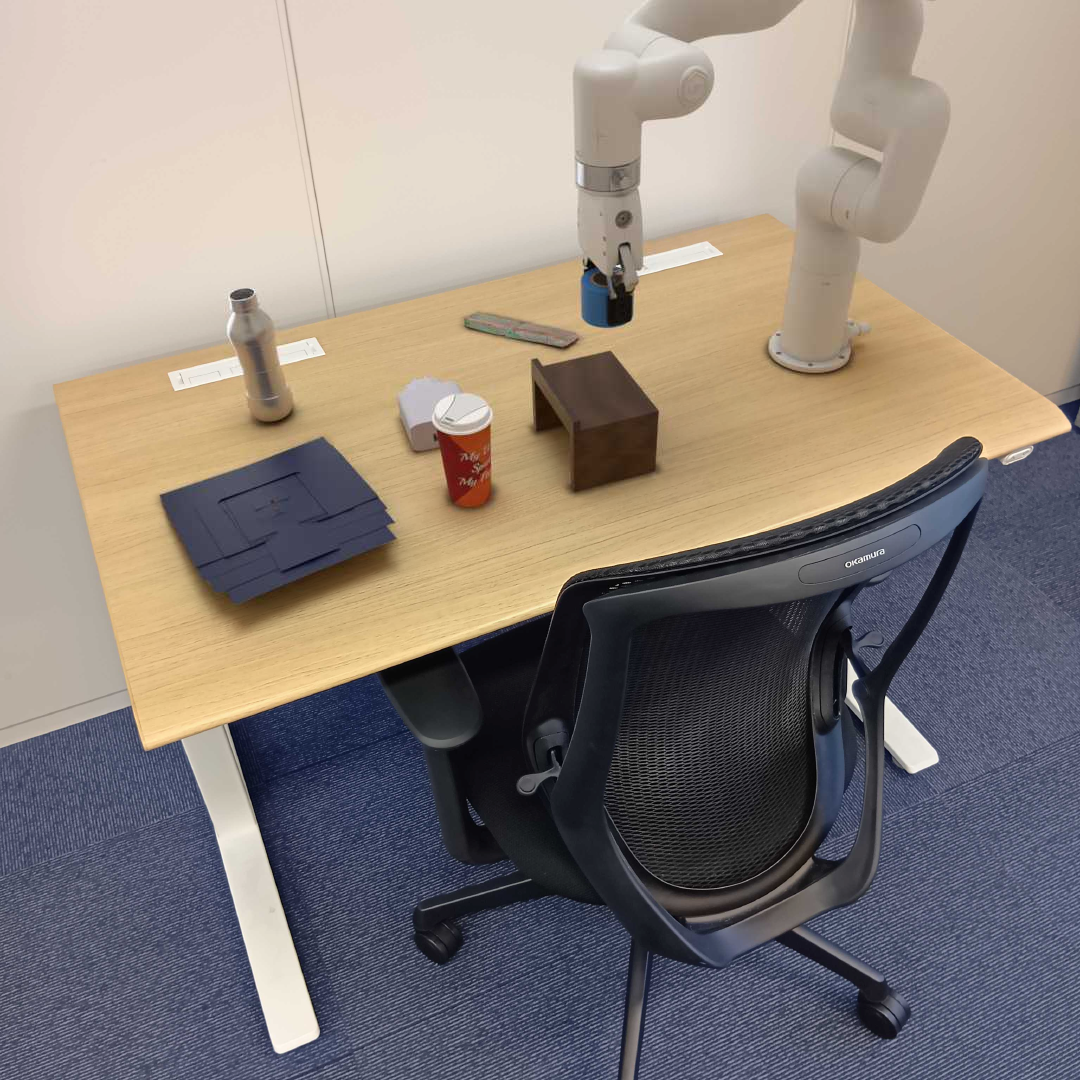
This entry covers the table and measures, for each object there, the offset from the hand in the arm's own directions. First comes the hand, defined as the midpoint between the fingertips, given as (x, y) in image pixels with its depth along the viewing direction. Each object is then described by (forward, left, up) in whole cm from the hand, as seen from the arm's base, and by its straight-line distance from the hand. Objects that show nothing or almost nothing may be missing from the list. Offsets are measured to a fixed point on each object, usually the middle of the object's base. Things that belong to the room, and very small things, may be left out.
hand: (607, 308), depth 125 cm
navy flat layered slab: (+46, 0, -22) cm, 51 cm away
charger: (+21, -16, -22) cm, 34 cm away
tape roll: (0, 0, -1) cm, 1 cm away
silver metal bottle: (+43, -26, -22) cm, 55 cm away
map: (+1, -34, -22) cm, 40 cm away
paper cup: (+21, +3, -22) cm, 30 cm away
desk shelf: (+2, 0, -22) cm, 22 cm away
